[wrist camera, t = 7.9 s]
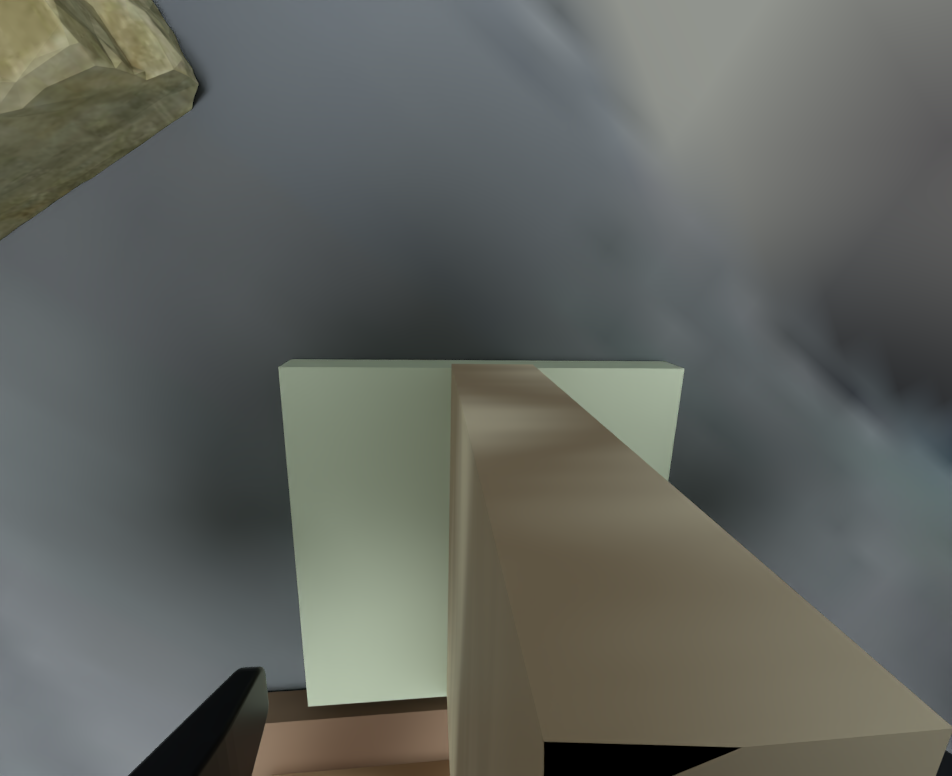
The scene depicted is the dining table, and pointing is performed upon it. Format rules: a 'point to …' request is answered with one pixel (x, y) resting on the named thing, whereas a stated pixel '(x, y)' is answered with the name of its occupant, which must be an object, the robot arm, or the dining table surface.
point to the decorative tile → (80, 94)
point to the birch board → (634, 619)
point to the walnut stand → (350, 734)
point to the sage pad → (408, 505)
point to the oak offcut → (388, 770)
